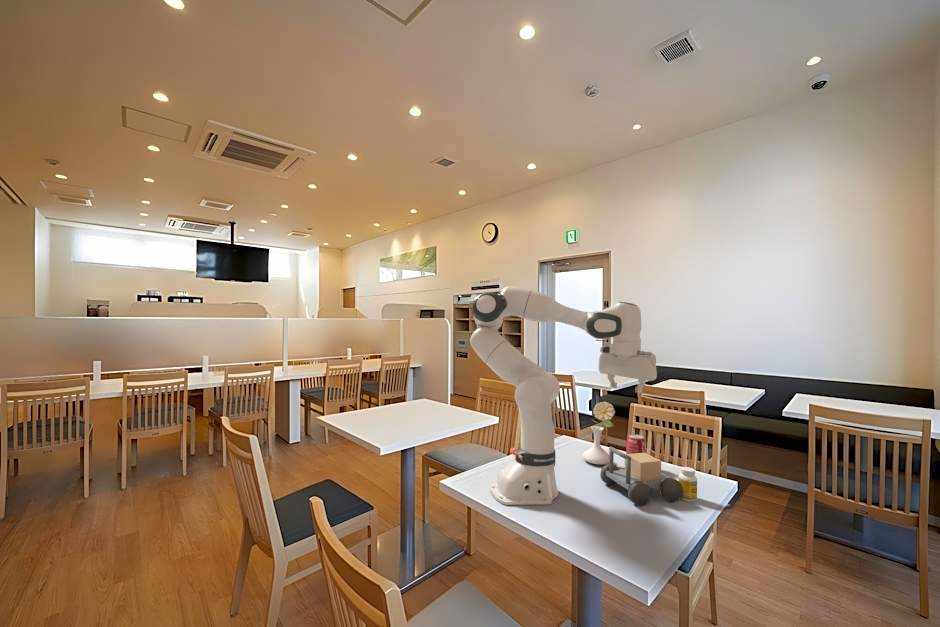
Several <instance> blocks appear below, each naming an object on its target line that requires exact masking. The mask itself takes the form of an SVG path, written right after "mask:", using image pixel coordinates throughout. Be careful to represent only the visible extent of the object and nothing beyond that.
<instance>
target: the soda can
mask: <svg viewBox="0 0 940 627" xmlns="http://www.w3.org/2000/svg"><path fill="white" fill-rule="evenodd" d="M646 444H647V443H646V440H645V436H644V435H641V434H636V433H630V434H628V437H627V438H626V444H625V445H626V446H625V447H626V452H625V454H634V453H646V454H647V451H646V450H647V447H646V446H647V445H646Z"/></svg>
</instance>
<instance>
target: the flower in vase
mask: <svg viewBox="0 0 940 627" xmlns="http://www.w3.org/2000/svg"><path fill="white" fill-rule="evenodd" d="M592 412H593V415H594V418H596V419H597V420H600V421H601V424H599V426H597V425H594V426H591V427H590V428H591V430H592V431H593V437H594V438H593V439H594V440H593V446H592V447H590V448H589V449H586V450H585V451H584V453H583V454H582V459H583V460H584V461H585V462H588V463H590V464H594V465H600V466H601V465H603V466H604V465H606V464H609V452H607V451H606V450H605V449H604V448H602V445H601V435H602V433H603V431H604V430H605V428H604V427H602V425H604V426H605V427H606V428H612V427H615V425H614V424H613V423H612V422H611V421H610V420H612V418H613V417H614V416H615V414H616V410H615V408H614V405H612V404H611V403H609V402H606V401H603V402H602V401H600V402H598V403H596V405H594V408H593V411H592ZM592 421H593V422H594V423H596V424H598V422H597V421H595V420H594V419H592Z"/></svg>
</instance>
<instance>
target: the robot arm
mask: <svg viewBox="0 0 940 627" xmlns="http://www.w3.org/2000/svg"><path fill="white" fill-rule="evenodd" d="M471 311H472V315H473V321H474V322H475V323H474V324H475V325H476V329H475V330H474V331H473V332H472V334H471V336H470V338H469V344H470V346H471V348H472V349H473V351H474V352H475V354H476V355H477V356H478V357H479V359H480V360H481V361H482V362H483V363H484V364H486V366H488V367H489V368H490V369H491V371H493V372H494V373H495V374H496V375H497V376H498V377H499V378H500V379H501V380H503V381H505V382H507V383H509V384H511V385H512V386H514V387H515V390H514V401H515V403H516V405H517V407H518V414H519V419H520V447H519V449H516V448H515V447H511V448H510V449H509V450H510V451H509V452H510V453H511V454H512V455H513V456H514V457H515V458H514V459H513V460H512V461H511V462H509V463H508V464H507V465H506V466H505V467H503V468H502V469H501V470H500V471H499V473H498V474H497V481H496V482H494V483H491V485H490V493H491V496H493V498H494V499H495V500H496V501H498V503H501V504H503V505H504V506H505V505H506V506H515V505H516V506H525V505H528V506H529V505H552V503H553V501H554V500H555V499H556V498H557V497H558V496H559V490H558V486H557V480H556V470H555V466H556V449H555V424H554V421H553V416H552V415H553V414H552V403H553V402H555V401H556V399H557V398H558V397H559V393H560V389H561V387H560V386H561V385H560V382H559V380H558V378H557V377H556V376H555V375H553V374H551V373H550V372H548V371H546V370H545V369H544V368H542V367H541V366H540V365H538V364H537V363H535V362H534V361H532V360H530V359H529V358H528V357H526V356H525V355H524V354H522V353H521V352H520V350H518V349H517V348H516V347H515V346H513V345H512V344H511V343H510V342H509V341H508V340H507V339H506V338H505V337H503V336H502V335H501V333H500V331H501V330H502V329H503V326H504V322H505V318H506V317H511V316H512V317H513V316H514V317H518V318H521V319H522V320H523V319H524V320H528V321H531V322H536V323H537V322H538V323H539V322H540V323H548V322H549V323H550V322H551V323H552V322H553V323H562V324H565V325H569V326H572V327H576V328H578V329H581V330H583V331H585V332H586V333H587V334H588V335H590V336H591V337H592V338H595V339H597V340H604V339H608V338H612V339H613V340H612V343H611V344H607V345H604V346H601V347H600V349H599V351H600V353H601V354H599V358H598V365H597V367H598V369H597V370H598V371H599V373H600V374H605V375H607V378H608V381H609V384H610V388H611V389H617V388H618V386H617V385H618V382H616V381H615V379H614V378H615V376H617V377H622V378H627V379H628V378H631V379H635V380H637V382H638V383H639V384H638V386H635V388H634V389H635V390H634V393H637V394H641V393H643V387H644V385H645V384H646V382H652V381H653V382H654V381H656V379H657V377H658V373H657V356H656V355H655V354H654V353H652V352H651V351H643V350H642V340H641V332H642V313H641V308H640V307H639V306H638V305H637V304H635V303H631V302H626V301H625V302H624V301H618V302H615V303H614V304H613V305H611V306H609V307H607V308H605V309H602V310H598V311H591V312H590V311H589V312H588V311H582V310H579V309H575V308H573V307H569V306H565V305H564V304H562V303H560V302H558V301H557V300H555V299H554V298H553V297H551V296H549V295H548V294H546V293H543V292H541V291H539V290H536V289H531V288H528V287H523V286H515V285H507V286H505V287H504V288H503V289H501V291H500V292H499V291H494V292H483V293H480V294H478V295H476V297H475V298H474V300H473V301H472V305H471Z"/></svg>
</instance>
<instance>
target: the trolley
mask: <svg viewBox="0 0 940 627" xmlns="http://www.w3.org/2000/svg"><path fill="white" fill-rule="evenodd" d="M608 454H609V463H608V464H604V465H603V467H602V468H601V470H600V479H601V481H602V482H603V483H605V484H606V485H608V486H610V487H613V486H612V485H614V486H615V485H616V486H617V484H618V485H620V486H621V487H623V488H624V489H626V490H627V497H628V500H630V502H632V503H633V504H635V506H638V507H643V506H646V504H648V503H649V501H651V497H652V491H651V490H652V489H654V488H659V492H660V495H661V497H662V498H663V499H665V500H666V501H668V502H670V503H675V502H677V501H678V500H681V498H680V497H681V495H682V492H683V488H682V485H681V483H680V482H679V480H677V479H676V478H673V477H670V476H668V475H666V474H665V473H662V460H661V459H658V458H656V457H654V456H653V455H650V454H649V453H647V452H646V453H634V454H626V453H624V452H622V451H620V450H619V449H616V448H615V447H613V446H609V447H608ZM614 454H615V455H618V456H619V457H621V458H623V459H624V469H623V468H621V469H620V467H619V466H617V465H616V464H614V460H615V459H614ZM651 488H652V489H651Z"/></svg>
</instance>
